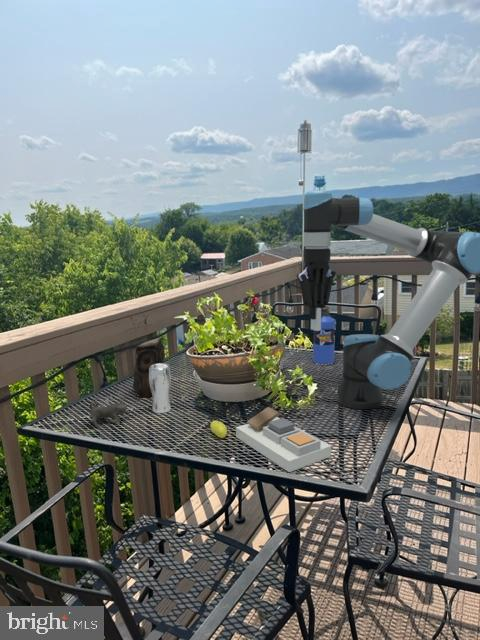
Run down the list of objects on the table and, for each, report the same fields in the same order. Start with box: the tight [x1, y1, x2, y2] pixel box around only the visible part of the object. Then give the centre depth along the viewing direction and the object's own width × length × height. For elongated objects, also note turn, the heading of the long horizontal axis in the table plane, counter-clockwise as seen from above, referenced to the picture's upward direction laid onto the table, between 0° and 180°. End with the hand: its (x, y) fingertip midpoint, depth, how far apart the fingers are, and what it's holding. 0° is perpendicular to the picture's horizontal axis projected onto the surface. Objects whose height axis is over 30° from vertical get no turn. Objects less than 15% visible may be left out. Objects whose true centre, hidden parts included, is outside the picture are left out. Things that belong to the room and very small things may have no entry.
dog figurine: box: [88, 402, 130, 429], centre depth 147 cm, size 12×6×7 cm, turn 109°
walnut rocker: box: [247, 406, 280, 430], centre depth 136 cm, size 8×5×1 cm, turn 123°
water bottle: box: [312, 305, 336, 364], centre depth 203 cm, size 9×9×25 cm
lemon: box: [210, 420, 228, 439], centre depth 138 cm, size 4×8×4 cm, turn 21°
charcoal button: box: [268, 417, 295, 435], centre depth 129 cm, size 5×5×2 cm
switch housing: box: [235, 416, 332, 473], centre depth 130 cm, size 14×24×5 cm, turn 33°
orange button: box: [287, 433, 314, 446], centre depth 123 cm, size 5×5×2 cm
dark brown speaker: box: [132, 336, 166, 399], centre depth 170 cm, size 13×13×20 cm
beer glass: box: [149, 362, 172, 414], centre depth 156 cm, size 7×7×15 cm
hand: (315, 329), depth 138 cm, fingers closed
